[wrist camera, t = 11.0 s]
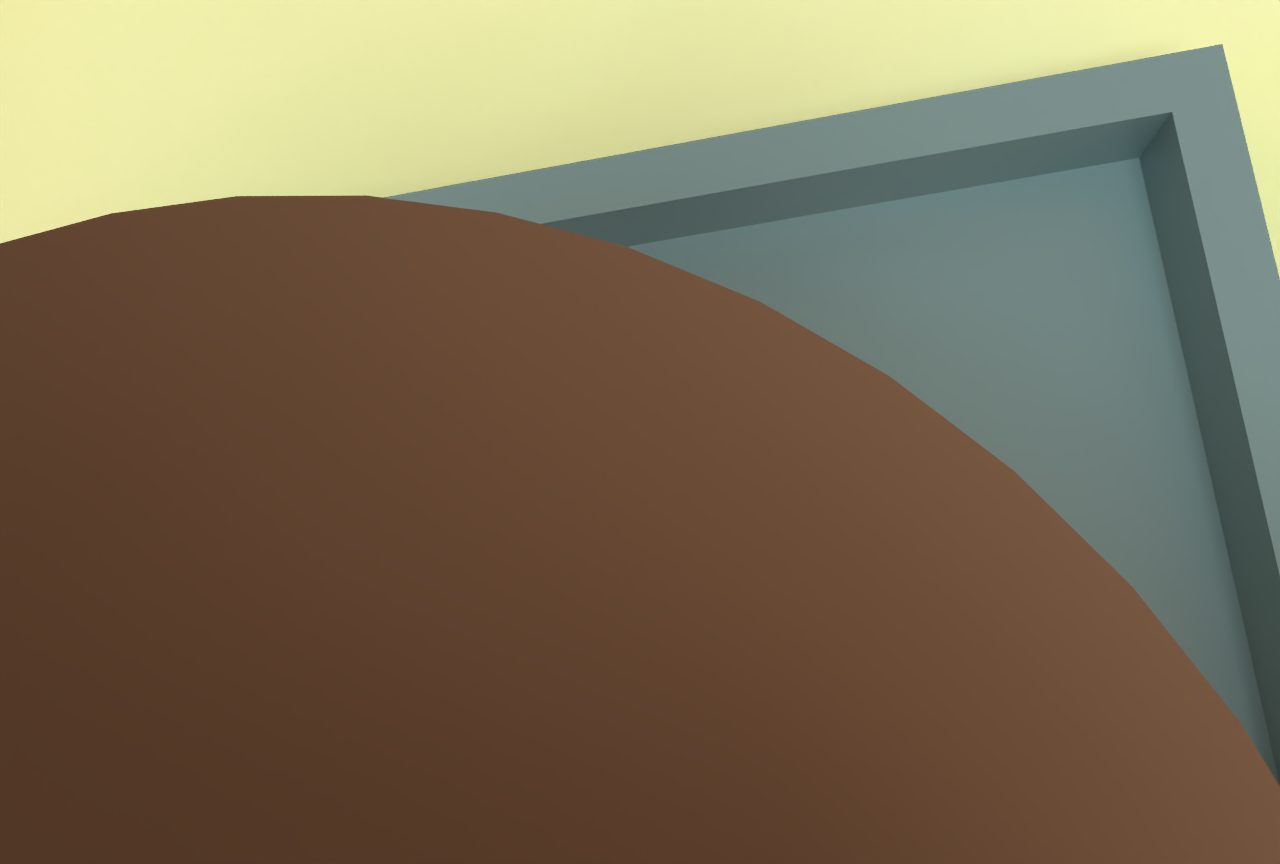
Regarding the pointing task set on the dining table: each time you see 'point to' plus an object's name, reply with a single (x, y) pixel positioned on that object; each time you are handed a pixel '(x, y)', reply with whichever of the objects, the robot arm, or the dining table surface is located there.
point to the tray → (1021, 305)
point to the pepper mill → (539, 574)
